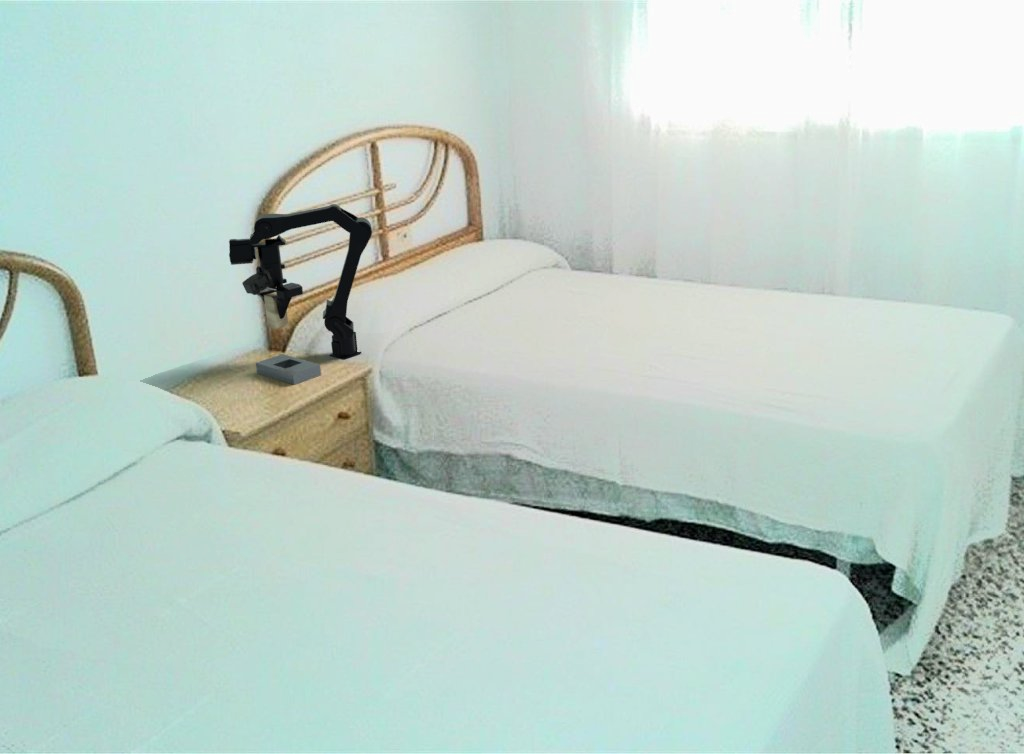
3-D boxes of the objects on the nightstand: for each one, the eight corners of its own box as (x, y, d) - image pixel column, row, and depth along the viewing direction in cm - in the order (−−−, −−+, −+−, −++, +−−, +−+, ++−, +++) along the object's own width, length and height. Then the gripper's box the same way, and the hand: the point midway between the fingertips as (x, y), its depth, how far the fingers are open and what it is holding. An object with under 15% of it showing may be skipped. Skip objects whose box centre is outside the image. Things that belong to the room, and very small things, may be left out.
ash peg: (279, 323, 289) (275, 291, 286) (288, 325, 287) (284, 293, 284) (267, 326, 287) (263, 295, 284) (276, 329, 284) (272, 297, 281)
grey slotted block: (283, 364, 286) (282, 354, 285) (321, 375, 276) (319, 364, 275) (257, 373, 280) (255, 362, 279) (294, 384, 270) (292, 373, 269)
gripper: (224, 263, 281) (232, 319, 286) (266, 272, 269) (273, 330, 274) (259, 255, 289) (265, 309, 294) (300, 263, 277) (307, 319, 282)
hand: (277, 317), depth 286 cm, fingers closed on ash peg, 4 cm apart
